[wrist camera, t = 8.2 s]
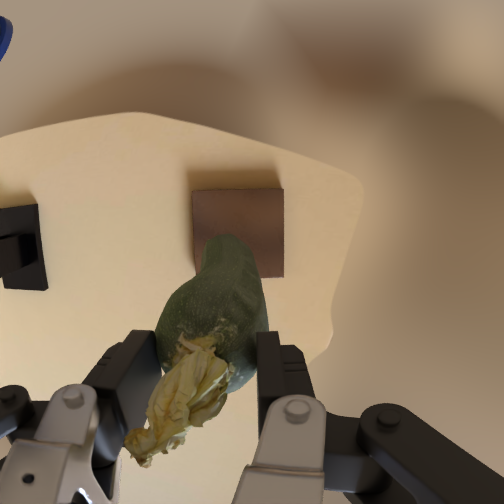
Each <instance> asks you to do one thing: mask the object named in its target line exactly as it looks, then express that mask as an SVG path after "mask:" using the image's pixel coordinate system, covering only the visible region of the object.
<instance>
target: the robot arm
mask: <svg viewBox="0 0 504 504" xmlns="http://www.w3.org/2000/svg"><path fill="white" fill-rule="evenodd" d="M0 34H1V26H0ZM256 354H257V402H258V438H259V442H258V446H257V449H256V452H255V455H254V459H253V462H252V464H251V465H249V464H247V465H246V466H245V468H244V470H243V472H242V475H241V478H240V481H239V484H238V486H237V489H236V492H235V495H234V498H233V501H232V503H231V504H322V501H323V491H324V490H330V491H339V492H343V494H344V495H345V496H346V498H347V499H348V500H349V501H350V502H351V503H352V504H504V477H502V476H500V475H499V474H498V473H496V472H495V471H493V470H492V469H490V468H489V467H487V466H486V465H485V464H483V463H481V462H480V461H479V460H477V459H476V458H475V457H473V456H472V455H470V454H469V453H467V452H466V451H465V450H463V449H461V448H460V447H459V446H457V445H456V444H455V443H453V442H452V441H451V440H449V439H448V438H446V437H445V436H444V435H442V434H441V433H439V432H438V431H437V430H435V429H434V428H432V427H431V426H430V425H428V424H427V423H426V422H424V421H423V420H421V419H420V418H419V417H417V416H416V415H414V414H413V413H412V412H410V411H409V410H408V409H406V408H404V407H402V406H400V405H396V404H390V403H382V404H377V405H373V406H370V407H369V408H367V409H366V410H365V411H364V412H363V413H362V415H361V417H360V418H354V417H344V416H338V415H334V414H332V413H329V412H327V411H326V409H325V406H324V405H323V404H322V403H321V402H320V401H319V400H317V399H316V397H315V394H314V391H313V387H312V383H311V380H310V376H309V373H308V370H307V365H306V363H305V358H304V355H303V352H302V351H301V350H300V349H298V348H297V347H296V346H295V345H280V340H279V334H278V331H262V332H256ZM161 378H162V371H161V365H160V362H159V359H158V356H157V350H156V335H155V333H154V331H152V330H132V331H131V332H130V333H129V335H128V336H127V337H126V339H125V340H124V341H123V343H122V342H118V343H117V344H115V345H113V346H112V347H110V348H109V349H107V351H106V352H105V353H104V355H103V356H102V358H100V360H99V361H98V362H97V365H95V366H94V368H93V369H92V370H91V371H90V373H89V374H88V375H87V377H86V378H85V379H84V381H83V382H82V383H81V384H71V385H67V386H64V387H62V388H60V389H58V390H57V391H56V392H55V393H54V394H53V395H52V397H51V399H50V401H31V398H30V396H29V394H28V391H27V390H26V389H25V388H24V387H22V386H19V385H8V386H4V387H2V388H0V439H1V438H2V437H4V436H6V437H7V438H8V440H9V442H10V443H11V445H12V446H11V449H10V451H9V453H8V455H7V456H5V457H4V458H3V459H1V460H0V504H119V490H120V478H121V467H122V460H121V457H120V455H119V452H120V450H121V448H122V447H125V445H124V443H123V442H124V438H125V436H127V435H128V434H129V431H130V430H132V429H136V428H141V427H144V425H145V422H146V420H147V415H146V413H145V412H147V411H146V409H147V408H148V407H149V405H148V402H149V399H150V397H151V395H152V393H153V391H154V389H155V387H156V385H157V384H158V382H159V381H160V379H161Z"/></svg>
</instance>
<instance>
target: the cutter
mask: <svg viewBox="0 0 504 504" xmlns="http://www.w3.org/2000/svg"><path fill="white" fill-rule="evenodd" d="M1 277H2V279H3V284H4V288H6V289H22V290H39V291H45V290H46V289H48V283H47V277H46V271H45V265H44V258H43V250H42V243H41V234H40V224H39V212H38V204H32V205H25V206H17V207H10V208H4V209H0V278H1Z"/></svg>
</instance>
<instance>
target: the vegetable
mask: <svg viewBox="0 0 504 504" xmlns="http://www.w3.org/2000/svg"><path fill="white" fill-rule="evenodd" d="M201 258H202V260H201V267H200V273H198V274H197V275H196V276H195V277H193V278H192V279H191V280H189V281H188V282H186V283H185V284H183V285H182V286H181V287H179V288H178V289H177V290H176V291H175V292H174V293H173V294H172V295H171V297H170V298H169V300H168V301H167V303H166V305H165V307H164V310H163V312H162V314H161V316H160V318H159V321H158V324H157V326H156V329H155V332H154V333H155V335H156V350H157V356H158V359H159V362H160V365H161V367H162V369H163V371H164V372H165V375H163V377H162V378H161V379H160V381H159V382H158V384H157V385H156V387H155V389H154V391H153V393H152V395H151V397H150V399H149V402H148V405H149V407H148V408H147V409H146V411H147V412H145V413H146V415H147V418H148V422H149V425H150V426H149V428H148V429H145V428H144V427H141V428H136V429H132V430H130V431H129V434H128V435H127V436H125V438H124V442H123V443H124V445H125V448H126V449H127V450H128V451H129V452H130V453H131V459H132V458H133V457H134V458H135V459H136V461H137V463H138V464H139V465H140V467H144V468H148V467H150V466H151V461H152V456H154V455H156V454H159V453H160V452H162V453H163V454H168V452H167V450H170V449H176V448H177V447H178V446H179V445H180V444H181V445H183V444H184V442H185V435H186V433H187V432H188V431H189V430H190V429H191V428H192V427H203V423H204V422H206V421H208V420H211V419H212V418H214V417H216V416H217V415H218V414H219V412H220V411H221V409H222V407H223V405H224V404H225V402H226V399H227V394H228V393H231V392H234V391H236V390H238V389H240V388H241V387H242V386H243V385H244V384H246V383H247V382H248V381H249V380H250V379H251V378H252V377H253V376H254V374H255V373H256V371H257V354H256V332H262V331H269V324H268V316H267V309H266V303H265V298H264V293H263V289H262V283H261V278H260V275H259V272H258V269H257V265H256V262H255V259H254V255H253V252H252V251H251V249H250V248H249V247H248V246H247V245H246V244H245V243H244V242H243V241H241V240H240V239H238V238H237V237H236V236H234V235H233V234H222V235H217V236H215V237H213V238H212V239H208V240H207V241H206V245H205V247H204V250H203V252H202V257H201Z"/></svg>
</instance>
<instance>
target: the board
mask: <svg viewBox="0 0 504 504" xmlns="http://www.w3.org/2000/svg"><path fill="white" fill-rule="evenodd" d="M192 209H193V232H194V251H195V267H196V275H197V274H198V273H200V267H201V260H202V258H201V257H202V252H203V250H204V247H205V245H206V241H207V240H208V239H212V238H213V237H215V236H217V235H222V234H233V235H234V236H236V237H237V238H238V239H240V240H241V241H243V242H244V243H245V244H246V245H247V246H248V247H249V248H250V249H251V251H252V252H253V255H254V259H255V262H256V265H257V269H258V272H259V275H260V278H284V189H226V190H199V191H192Z"/></svg>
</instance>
